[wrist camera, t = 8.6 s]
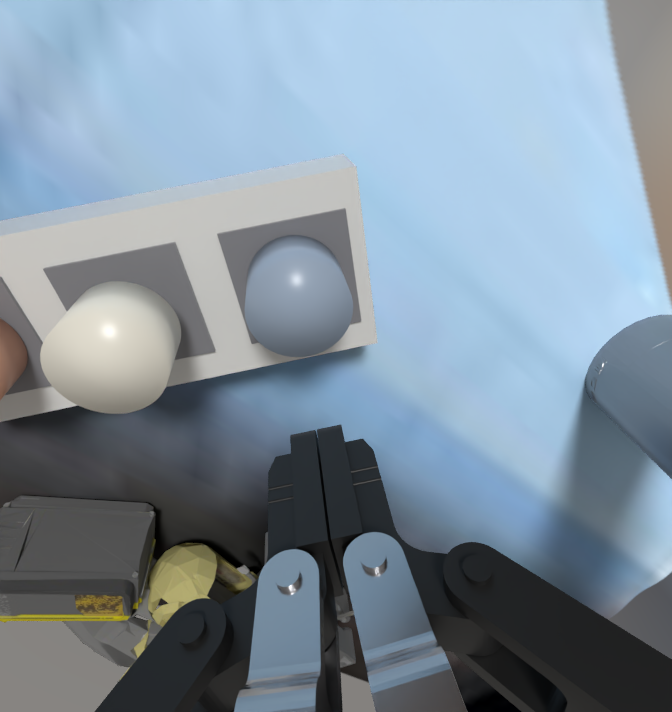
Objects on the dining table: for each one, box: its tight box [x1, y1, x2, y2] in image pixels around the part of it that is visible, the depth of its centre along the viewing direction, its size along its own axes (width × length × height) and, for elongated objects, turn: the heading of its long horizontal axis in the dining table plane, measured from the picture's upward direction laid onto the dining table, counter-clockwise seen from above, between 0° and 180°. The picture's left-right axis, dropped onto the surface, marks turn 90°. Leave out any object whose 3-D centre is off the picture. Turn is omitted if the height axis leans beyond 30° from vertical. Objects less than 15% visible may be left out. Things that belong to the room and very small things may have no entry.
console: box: [0, 154, 377, 422], centre depth 24 cm, size 25×10×4 cm, turn 99°
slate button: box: [245, 235, 353, 357], centre depth 21 cm, size 5×5×4 cm
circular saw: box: [0, 495, 356, 678], centre depth 37 cm, size 10×30×25 cm
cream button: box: [40, 281, 181, 414], centre depth 20 cm, size 5×5×4 cm
